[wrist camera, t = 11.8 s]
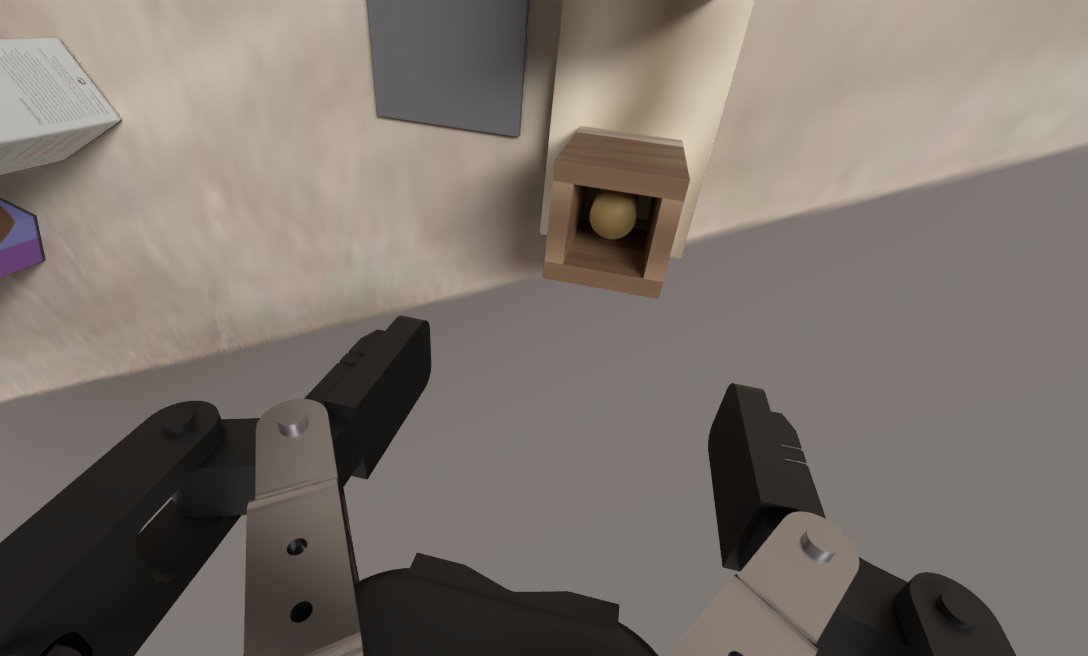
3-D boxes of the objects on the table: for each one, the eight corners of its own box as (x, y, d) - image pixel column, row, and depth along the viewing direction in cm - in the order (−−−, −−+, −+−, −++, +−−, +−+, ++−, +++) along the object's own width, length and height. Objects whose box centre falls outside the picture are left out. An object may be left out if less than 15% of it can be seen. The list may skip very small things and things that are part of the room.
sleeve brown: (581, 125, 26) (554, 159, 20) (682, 140, 26) (690, 180, 19) (568, 221, 29) (542, 277, 23) (658, 236, 29) (658, 298, 22)
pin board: (543, 227, 31) (516, 274, 25) (589, -214, 20) (559, -313, 14) (680, 250, 30) (685, 305, 24) (807, -200, 19) (873, -301, 13)
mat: (380, 114, 30) (377, 115, 29) (364, -73, 25) (360, -74, 24) (519, 135, 28) (518, 136, 28) (532, -55, 24) (530, -56, 23)
